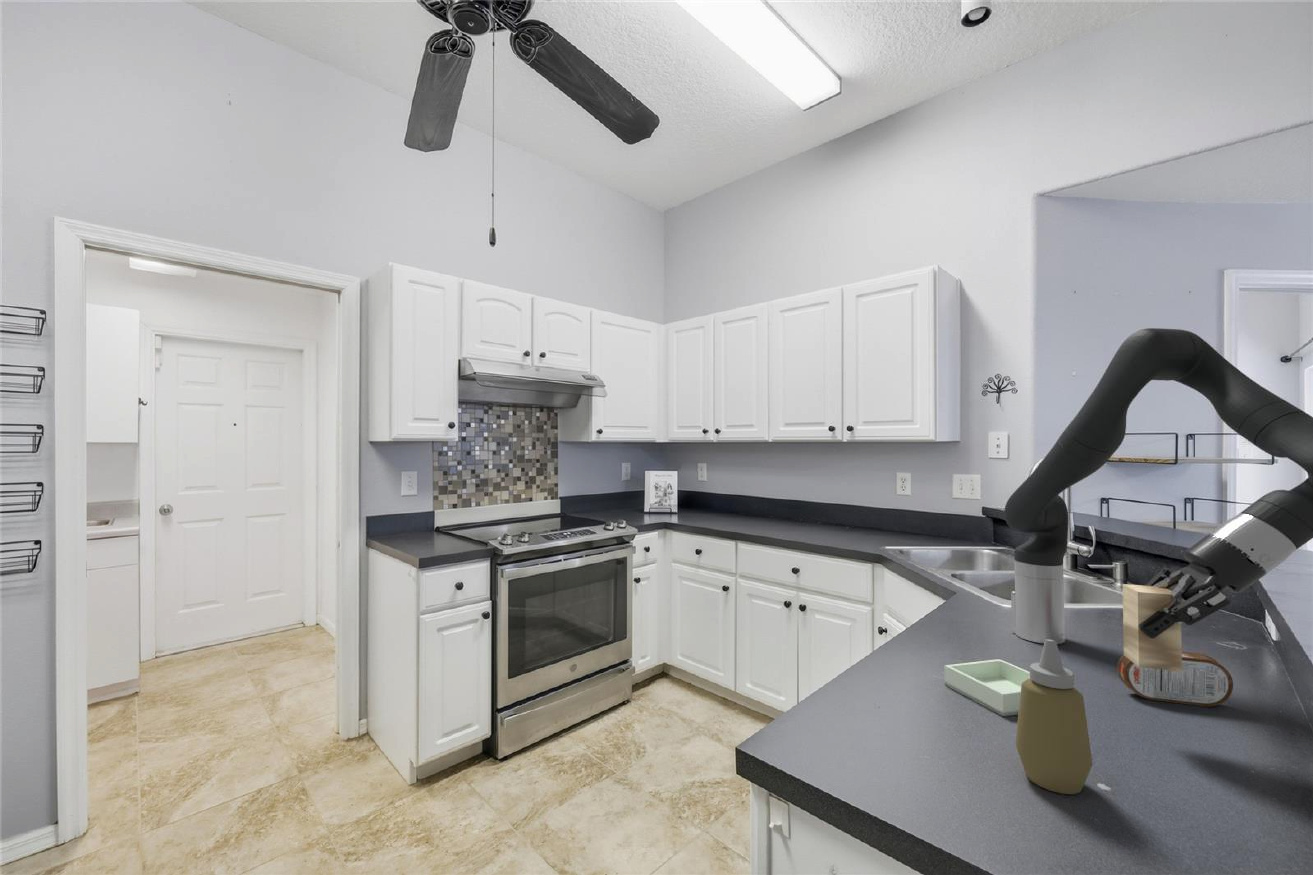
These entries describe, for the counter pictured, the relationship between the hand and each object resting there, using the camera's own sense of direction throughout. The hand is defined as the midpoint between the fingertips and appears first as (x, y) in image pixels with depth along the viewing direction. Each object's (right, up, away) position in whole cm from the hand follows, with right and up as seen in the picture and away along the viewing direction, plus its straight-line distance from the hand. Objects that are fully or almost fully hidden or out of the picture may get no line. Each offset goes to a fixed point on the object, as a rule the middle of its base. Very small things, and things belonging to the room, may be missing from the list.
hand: (1136, 626), depth 83 cm
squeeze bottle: (-21, -16, -12) cm, 29 cm away
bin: (-12, -16, +13) cm, 24 cm away
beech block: (+2, -5, -1) cm, 6 cm away
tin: (+16, -17, +11) cm, 26 cm away
